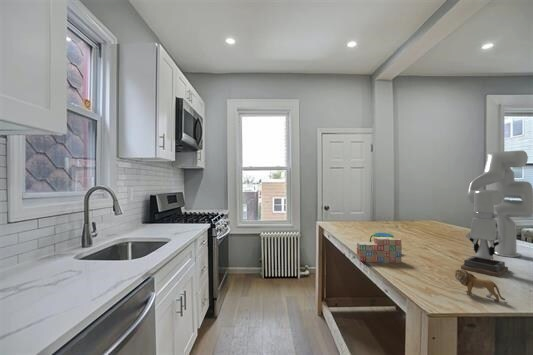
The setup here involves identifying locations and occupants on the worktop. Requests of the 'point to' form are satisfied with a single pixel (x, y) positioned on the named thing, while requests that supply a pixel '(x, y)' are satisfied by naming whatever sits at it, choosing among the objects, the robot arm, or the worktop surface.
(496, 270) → the board
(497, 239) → the robot arm
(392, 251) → the stack of blocks
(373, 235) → the snack cup
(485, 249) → the flask
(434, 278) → the worktop surface
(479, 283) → the lion figurine
